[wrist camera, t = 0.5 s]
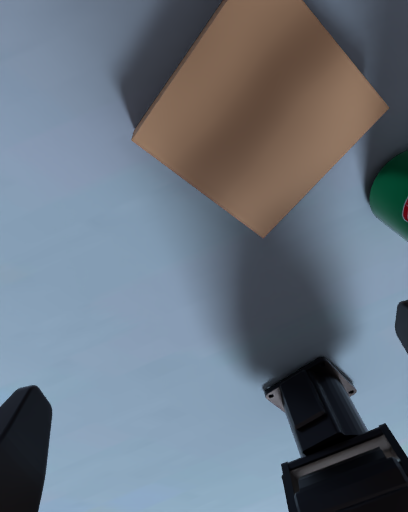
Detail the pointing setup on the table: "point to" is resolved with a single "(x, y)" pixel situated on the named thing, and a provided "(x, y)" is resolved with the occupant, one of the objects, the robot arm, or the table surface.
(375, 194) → the soda can
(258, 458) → the table surface
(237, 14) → the tan block
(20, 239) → the table surface
